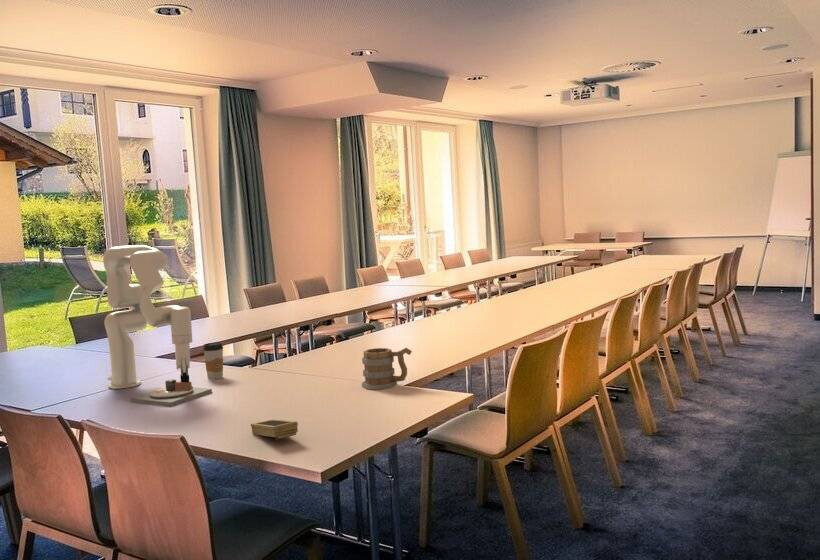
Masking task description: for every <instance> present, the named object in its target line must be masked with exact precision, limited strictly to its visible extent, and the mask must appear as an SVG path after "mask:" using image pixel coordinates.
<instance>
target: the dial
mask: <svg viewBox="0 0 820 560" xmlns="http://www.w3.org/2000/svg"><path fill="white" fill-rule="evenodd" d="M164 384H165V385H164V386H161V387H157V388H156V387H155V388H154V389H152V390H149V393H150V397H153V398H170V397H177V396H182V395H186V394H189V393H191V392H193V387H194V386H193V384H192V381H189V382H181V381H177V379H167V380H165V383H164Z"/></svg>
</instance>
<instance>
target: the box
mask: <svg viewBox="0 0 820 560" xmlns="http://www.w3.org/2000/svg"><path fill="white" fill-rule="evenodd" d="M298 426H299V423H298V421H294V420H286V419H275V418H274V419H267V420H264V421H258V422H253V423H250V427H251V432H252V433H251V434H252V435H256V436H257V435H258V436H265V437H270V438H271V437H272V438H275V441H277V440H280V439H284V438H289V437H293V436H296V435H297V433H298V431H299V430H298Z"/></svg>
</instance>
